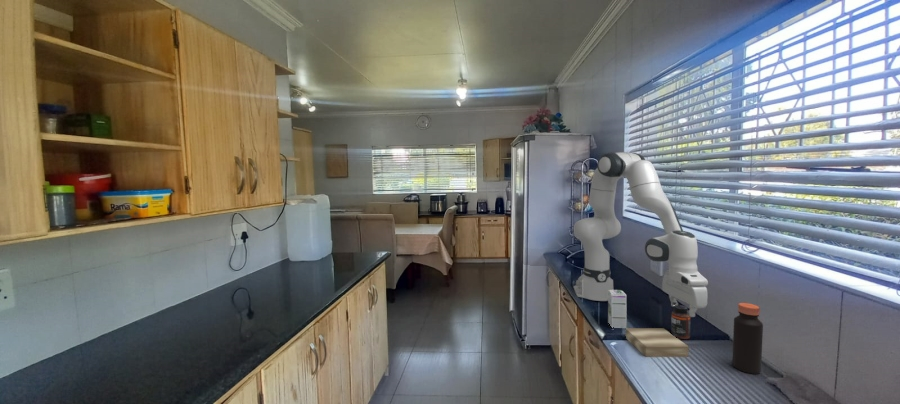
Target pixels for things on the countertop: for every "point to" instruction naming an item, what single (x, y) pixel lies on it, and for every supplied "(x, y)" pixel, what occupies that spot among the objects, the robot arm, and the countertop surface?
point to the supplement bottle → (680, 322)
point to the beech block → (656, 342)
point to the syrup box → (617, 309)
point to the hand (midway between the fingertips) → (682, 311)
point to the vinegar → (747, 339)
